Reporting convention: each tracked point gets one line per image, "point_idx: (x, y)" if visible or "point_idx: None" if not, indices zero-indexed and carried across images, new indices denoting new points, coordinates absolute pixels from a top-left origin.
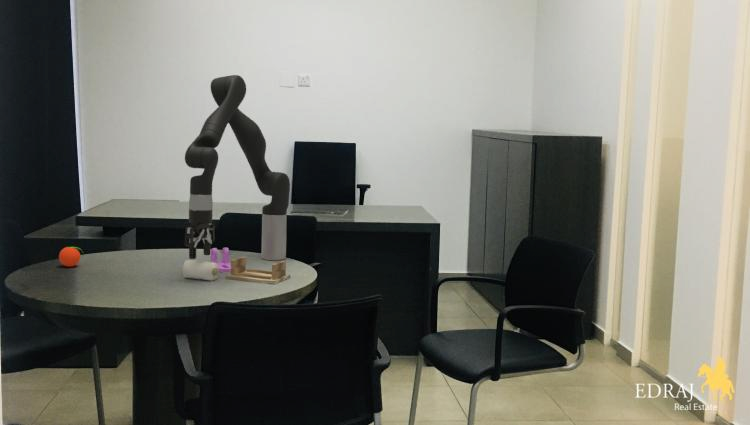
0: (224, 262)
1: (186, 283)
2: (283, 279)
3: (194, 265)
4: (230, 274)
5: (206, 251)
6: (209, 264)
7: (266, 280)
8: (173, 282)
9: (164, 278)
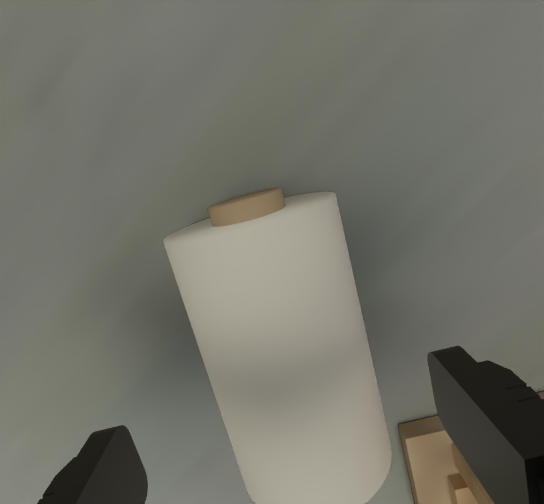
0: None
1: (109, 353)
2: None
3: (210, 363)
4: None
5: (456, 416)
6: (274, 501)
7: None
8: (58, 268)
9: (89, 103)
